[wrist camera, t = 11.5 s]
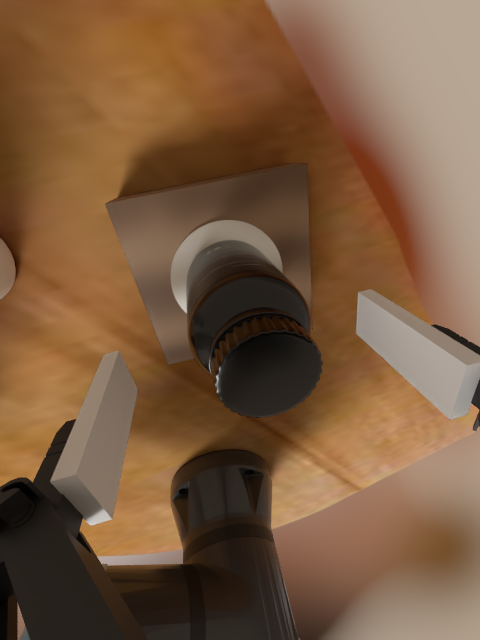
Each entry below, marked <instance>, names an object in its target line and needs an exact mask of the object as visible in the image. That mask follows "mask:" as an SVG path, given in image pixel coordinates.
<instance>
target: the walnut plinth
mask: <svg viewBox="0 0 480 640" xmlns="http://www.w3.org/2000/svg"><path fill="white" fill-rule="evenodd" d="M105 205H106V208H107V210H108V213H109V215H110V218H111V221H112V223H113V226H114V228H115V231H116V233H117V236H118V238H119V241H120V243H121V246H122V249H123V251H124V254H125V256H126V259H127V261H128V264H129V266H130V269H131V272H132V274H133V277H134V279H135V282H136V284H137V287H138V289H139V292H140V294H141V297H142V300H143V302H144V305H145V307H146V310H147V312H148V315H149V317H150V320H151V323H152V325H153V328H154V330H155V333H156V335H157V338H158V340H159V343H160V345H161V348H162V351H163V353H164V356H165V358H166V361H167V363H168V365H170V364H174V363H178V362H182V361H186V360H190V359H194V357H193V355H192V352H191V350H190V346H189V341H188V332H187V299H186V280H187V274H188V270H189V268H190V265H191V263H192V262H193V260H194V259H195V257H196V256H197V255H198V254H199V253H200V252H201V251H202V250H203V249H205V248H206V247H208V246H210V245H211V244H214V243H216V242H220V241H224V240H238V241H242V242H246V243H248V244H250V245H252V246H254V247H255V248H257V249H258V250H259V251H260V252H261V253H263V254H264V255H265V256H266V257H267V258H268V259H269V260H270V261H271V262H272V263H273V264H274V265H275V266H276V267H277V268H278V269H279V270H280V271H281V272H282V273H283V274H284V275H285V276H286V277H287V278H288V279H289V280H290V281H291V282H292V283H293V284H294V286H295V287H296V288H297V289H298V290H299V291H300V293H301V294H302V295H303V297H304V298H305V300H306V302H307V304H308V307H309V310H310V314H311V330H312V329H313V325H312V295H311V264H310V234H309V204H308V173H307V163H298V164H284V165H279V166H274V167H269V168H264V169H259V170H254V171H249V172H244V173H239V174H234V175H229V176H224V177H219V178H214V179H209V180H203V181H198V182H193V183H188V184H183V185H178V186H173V187H168V188H163V189H158V190H153V191H148V192H143V193H138V194H133V195H128V196H123V197H118V198H116V199H113V200H111V201H109V202H107V203H105Z"/></svg>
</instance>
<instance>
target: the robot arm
mask: <svg viewBox="0 0 480 640" xmlns="http://www.w3.org/2000/svg"><path fill="white" fill-rule="evenodd" d="M356 334H357V335H358V336H359V337H360V338H361V339H363V340H364V341H365V342H366V343H367V344H368V345H369V346H370V347H371V348H372V349H373V350H374V351H376V352H377V353H378V354H379V355H380V356H381V357H382V358H383V359H384V360H385V361H386V362H388V363H389V364H390V365H391V366H392V367H393V368H394V369H395V370H396V371H397V372H398V373H400V374H401V375H402V376H403V377H404V378H405V379H406V380H407V381H408V382H409V383H410V384H411V385H413V386H414V387H415V388H416V389H417V390H418V391H419V392H420V393H421V394H422V395H423V396H425V397H426V398H427V399H428V400H429V401H430V402H431V403H432V404H433V405H434V406H435V407H436V408H438V409H439V410H440V411H441V412H442V413H443V414H444V415H445V416H446V417H447V418H448V419H450V420H451V419H454V418H458V417H461V416H465V415H468V412H469V409H470V406H471V404H473V405H474V406H476V407H477V408H478V409H479V413H478V415H477V418H476V421H475V423H474V426H473V430H474V431H477V428H478V426H480V347H479V346H477V345H475V344H473V343H472V342H468V340H467V339H465V338H463V337H460V336H459V335H458V334H456V333H455V332H453V331H451V330H449V329H447V328H444V327H441V326H438V325H429V324H428V323H426V322H424V321H423V320H421V319H419V318H418V317H416V316H415V315H413V314H411V313H410V312H408V311H406V310H405V309H403V308H401V307H400V306H398V305H397V304H395V303H393V302H392V301H390V300H388V299H387V298H385V297H384V296H382V295H380V294H379V293H377V292H375V291H374V290H372V289H368V290H364V291H360V292H358V303H357V322H356ZM137 392H138V389H137V387H136V385H135V382H134V380H133V378H132V376H131V374H130V372H129V370H128V368H127V366H126V364H125V362H124V360H123V358H122V356H121V354H120V352H119V351H115V352H111V353H107V354H104V355H103V358H102V360H101V362H100V365H99V367H98V369H97V372H96V374H95V376H94V379H93V381H92V384H91V386H90V388H89V391H88V393H87V395H86V398H85V400H84V402H83V405H82V407H81V410H80V412H79V414H78V417H77V419H74V420H71V421H67V422H66V423H65V424H64V425H63V426H62V427H61V428H60V430H59V431H58V432H57V433H56V435H55V437H54V439H53V441H52V443H51V447H50V448H49V450H48V452H47V454H46V457H45V458H44V460H43V462H42V464H41V466H40V468H39V471H38V473H37V475H36V477H35V479H34V481H33V483H32V482H31V481H30V480H29V479H28V478H17V479H14V480H11V481H9V482H8V483H6V484H4V485H3V486H1V487H0V640H17V601H18V604H19V607H20V611H21V614H22V617H23V619H24V623H25V628H24V630H23V633H22V635H21V637H20V639H19V640H300V638H298V635H297V631H296V627H295V623H294V619H293V615H292V611H291V607H290V603H289V599H288V595H287V591H286V586H285V583H284V579H283V575H282V570H281V566H280V562H279V558H278V554H277V550H276V547H275V543H274V538H273V534H272V529H271V508H272V481H271V477H270V473H269V470H268V466H267V464H266V463H265V461H264V460H263V459H262V458H260V457H259V456H257V455H255V454H253V453H250V452H246V451H239V450H226V451H218V452H213V453H210V454H206V455H203V456H201V457H198V458H196V459H194V460H192V461H191V462H189V463H188V464H186V465H185V466H184V467H182V468H181V469H180V470H179V471H178V472H177V474H176V475H175V476H174V478H173V480H172V484H171V508H172V511H173V515H174V518H175V522H176V525H177V529H178V532H179V536H180V539H181V543H182V546H183V564H163V565H122V566H121V565H120V566H108V565H107V564H101V563H100V561H99V560H98V558H97V556H96V555H95V553H94V551H93V550H92V548H91V547H90V545H89V543H88V542H87V540H86V538H85V537H84V535H83V534H82V533H81V532H80V531H79V530H80V526H81V523H82V519H83V518H84V519H85V520H86V522H87V523H88V524H89V525H90V526H91V525H94V524H98V523H101V522H105V521H108V520H111V519H112V518H113V513H114V508H115V503H116V498H117V493H118V488H119V483H120V478H121V473H122V468H123V463H124V458H125V453H126V448H127V443H128V438H129V432H130V427H131V422H132V417H133V412H134V407H135V402H136V397H137Z"/></svg>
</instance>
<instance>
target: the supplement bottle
mask: <svg viewBox="0 0 480 640" xmlns="http://www.w3.org/2000/svg"><path fill="white" fill-rule="evenodd" d="M186 299H187V332H188V341H189V346H190V350H191V352H192V355H193V357H194V358H195V360H196V362H197V363H198V364H199V366H200V367H201V368H202V369H203V370H204V371H205V372H207V373H208V374H209V375H211V376H212V378H213V382H214V387H215V391H216V393H217V394H218V396H219V399H220V401H222V402H223V403H224V405H225V407H227V408H230V409H231V411H232V412H236V413H238V414H239V415H245V416H247V417H256V418H260V417H270V416H272V415H278V414H280V413H283V412H287V411H288V410H290V409H291V408H294V407H296V406H297V405H298V404H299V403H301V402H303V401H304V400H305V398H306V397H308V396H309V395H310V394H311V392H312V390H313V389H315V388H316V384H317V382H318V381H319V380H320V374H321V373H322V368H321V367H322V364H323V362H322V360H321V353H320V351H319V350H318V347H317V345H316V343H315V342H314V340H313V339H312V338H311V337H310V333H311V314H310V310H309V307H308V304H307V302H306V300H305V298H304V297H303V295H302V294H301V293H300V291H299V290H298V289H297V288H296V287H295V286H294V284H293V283H292V282H291V281H290V280H289V279H288V278H287V277H286V276H285V275H284V274H283V273H282V272H281V271H280V270H279V269H278V268H277V267H276V266H275V265H274V264H273V263H272V262H271V261H270V260H269V259H268V258H267V257H266V256H265V255H264V254H263V253H261V252H260V251H259V250H258V249H257V248H255V247H254V246H252V245H250V244H248V243H246V242H242V241H238V240H224V241H220V242H216V243H214V244H211V245H210V246H208V247H206V248H205V249H203V250H202V251H201V252H200V253H199V254H198V255H197V256H196V257H195V259H194V260H193V262H192V263H191V265H190V268H189V270H188V274H187V280H186Z"/></svg>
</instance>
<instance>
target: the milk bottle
mask: <svg viewBox="0 0 480 640" xmlns="http://www.w3.org/2000/svg"><path fill="white" fill-rule="evenodd" d="M15 275H16V267H15V262H14V259H13V256H12V254H11V251H10V250H9V248H8V247H7V245H6V244H5V242H4V241H3V240H2V239H1V238H0V299H1V298H3V297H4V296H5V295H6V294H7V293H8V292H9V291H10V290H11V288H12V286H13V284H14V281H15Z"/></svg>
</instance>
